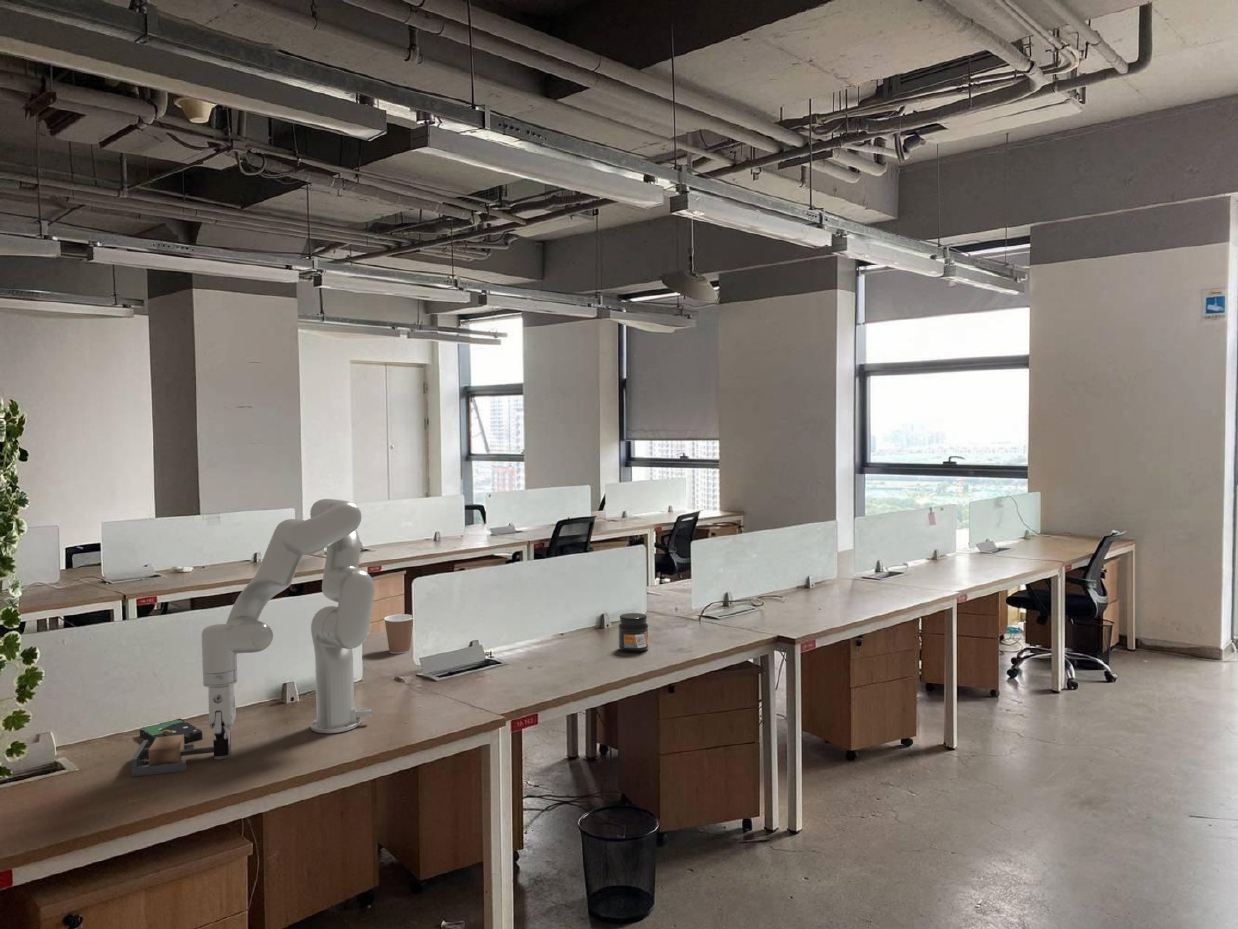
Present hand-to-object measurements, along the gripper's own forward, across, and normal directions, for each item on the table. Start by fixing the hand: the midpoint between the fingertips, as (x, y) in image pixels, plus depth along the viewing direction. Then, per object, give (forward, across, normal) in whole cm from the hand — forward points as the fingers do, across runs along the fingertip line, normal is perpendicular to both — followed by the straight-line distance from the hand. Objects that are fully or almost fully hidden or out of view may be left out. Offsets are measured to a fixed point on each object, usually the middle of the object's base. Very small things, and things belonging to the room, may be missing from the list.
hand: (222, 751), depth 211 cm
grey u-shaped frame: (+1, 0, +13) cm, 13 cm away
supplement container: (+1, +62, -125) cm, 139 cm away
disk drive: (+2, +19, +14) cm, 24 cm away
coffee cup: (+1, +88, -47) cm, 100 cm away
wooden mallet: (+1, 0, +7) cm, 7 cm away
